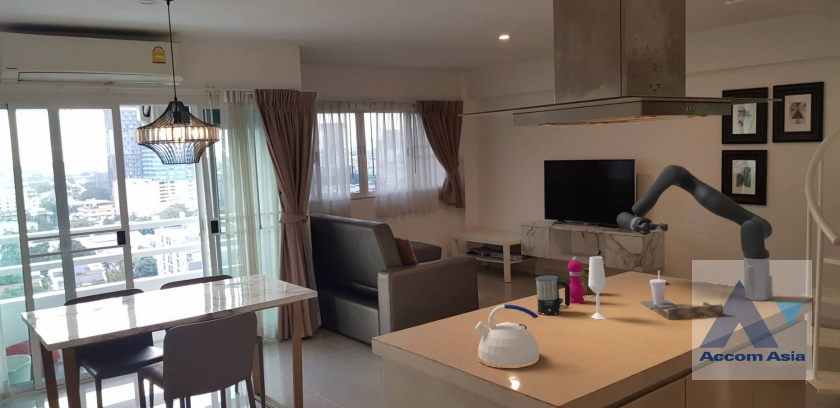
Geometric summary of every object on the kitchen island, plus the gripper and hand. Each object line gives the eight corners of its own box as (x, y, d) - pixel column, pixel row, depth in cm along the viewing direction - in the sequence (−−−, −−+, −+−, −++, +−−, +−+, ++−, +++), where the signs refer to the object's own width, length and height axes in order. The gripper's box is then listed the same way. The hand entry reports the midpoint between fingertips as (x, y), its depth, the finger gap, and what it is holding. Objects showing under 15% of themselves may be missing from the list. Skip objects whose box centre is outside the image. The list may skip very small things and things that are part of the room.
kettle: (477, 349, 206) (473, 298, 205) (537, 347, 204) (534, 295, 203) (476, 370, 186) (473, 314, 185) (543, 368, 184) (540, 311, 183)
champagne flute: (597, 320, 231) (594, 259, 229) (586, 316, 237) (583, 257, 235) (611, 317, 234) (608, 257, 232) (599, 314, 240) (597, 255, 238)
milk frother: (542, 316, 242) (540, 280, 241) (527, 307, 257) (526, 273, 256) (574, 312, 245) (573, 277, 244) (558, 304, 260) (556, 270, 259)
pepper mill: (587, 300, 262) (585, 255, 261) (582, 304, 256) (580, 258, 255) (571, 299, 266) (569, 255, 265) (566, 303, 260) (563, 258, 259)
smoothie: (669, 305, 244) (668, 271, 243) (653, 306, 244) (652, 272, 243) (663, 301, 250) (662, 268, 249) (648, 302, 250) (646, 269, 249)
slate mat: (666, 301, 253) (666, 299, 253) (678, 307, 242) (678, 306, 242) (640, 303, 252) (640, 301, 252) (651, 309, 242) (651, 308, 241)
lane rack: (705, 307, 240) (705, 297, 239) (723, 315, 227) (722, 305, 226) (654, 311, 239) (653, 301, 239) (668, 319, 226) (668, 309, 226)
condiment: (600, 293, 274) (599, 267, 273) (590, 297, 268) (589, 271, 267) (586, 291, 279) (584, 266, 278) (576, 295, 273) (575, 269, 272)
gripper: (625, 218, 272) (640, 222, 256) (656, 216, 272) (672, 219, 256) (626, 234, 272) (640, 239, 256) (657, 232, 273) (673, 237, 257)
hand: (656, 229), depth 256 cm, fingers open, 8 cm apart
